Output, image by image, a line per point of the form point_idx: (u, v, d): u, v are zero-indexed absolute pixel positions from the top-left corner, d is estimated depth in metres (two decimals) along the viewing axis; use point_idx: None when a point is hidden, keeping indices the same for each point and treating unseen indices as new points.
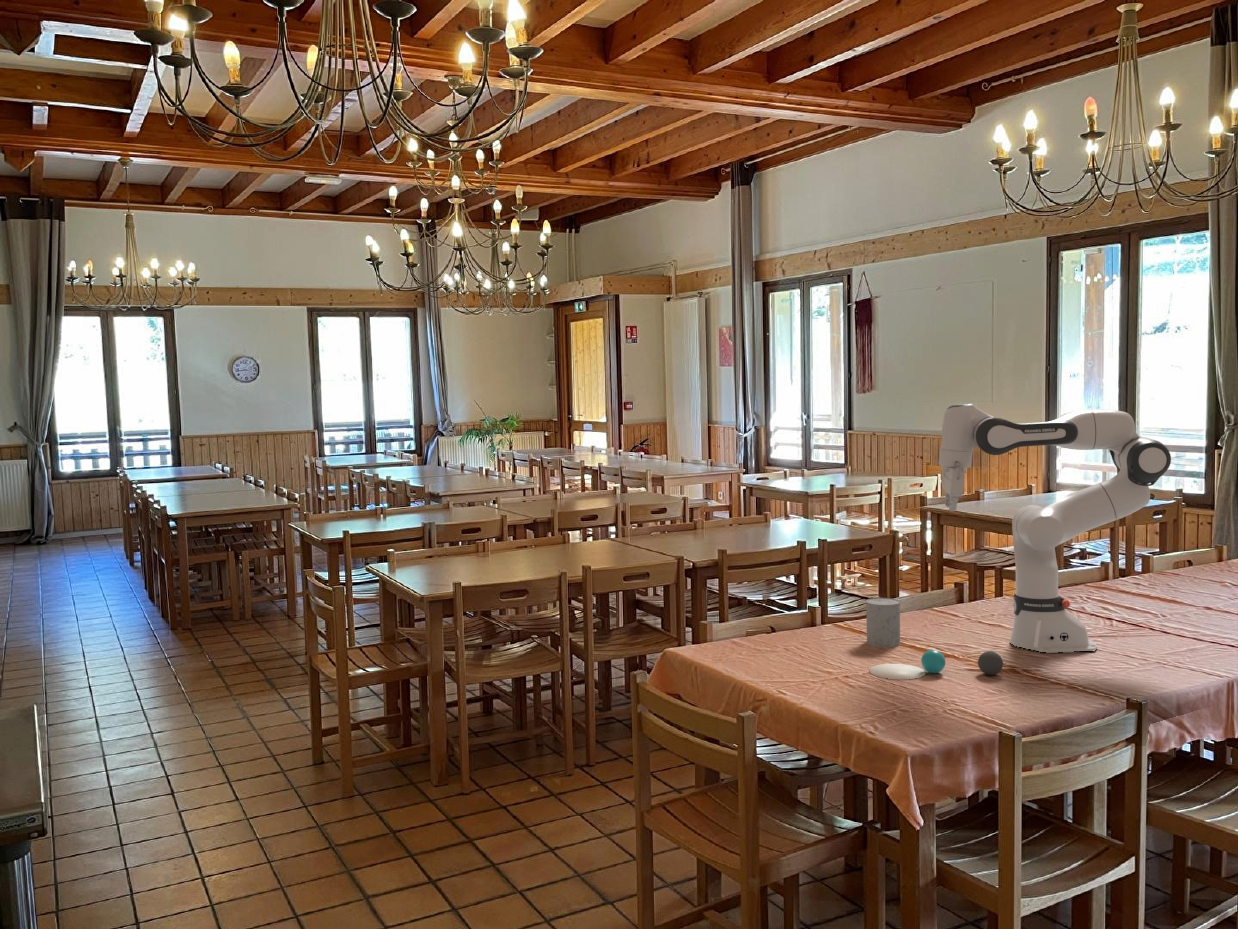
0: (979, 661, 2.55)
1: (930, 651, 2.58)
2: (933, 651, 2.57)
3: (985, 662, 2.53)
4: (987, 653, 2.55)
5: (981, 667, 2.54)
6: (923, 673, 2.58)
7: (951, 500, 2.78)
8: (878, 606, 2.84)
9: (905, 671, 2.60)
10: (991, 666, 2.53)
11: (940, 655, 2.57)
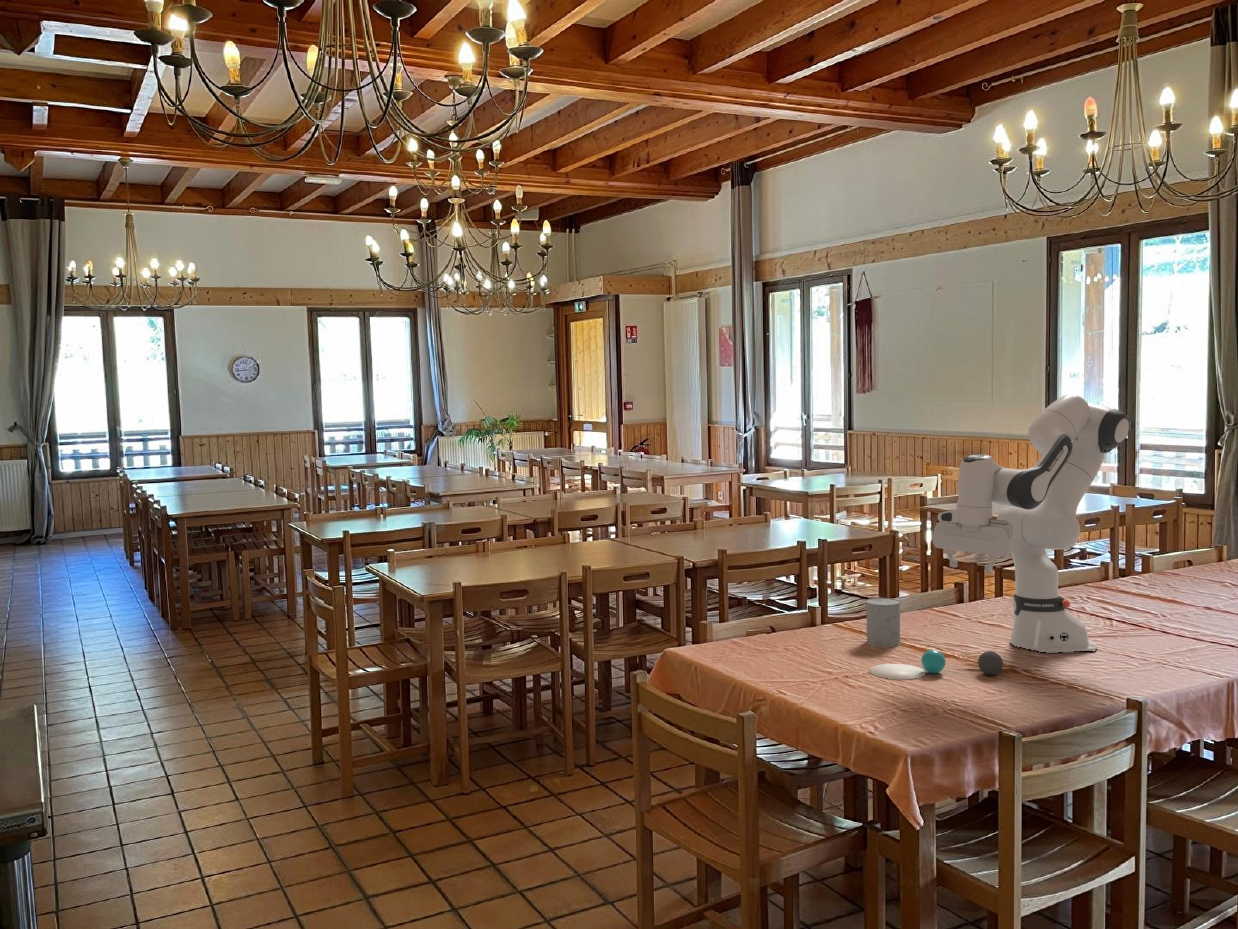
0: (979, 661, 2.55)
1: (930, 651, 2.58)
2: (933, 651, 2.57)
3: (985, 662, 2.53)
4: (987, 653, 2.55)
5: (981, 667, 2.54)
6: (923, 673, 2.58)
7: (993, 561, 2.56)
8: (878, 606, 2.84)
9: (905, 671, 2.60)
10: (991, 666, 2.53)
11: (940, 655, 2.57)
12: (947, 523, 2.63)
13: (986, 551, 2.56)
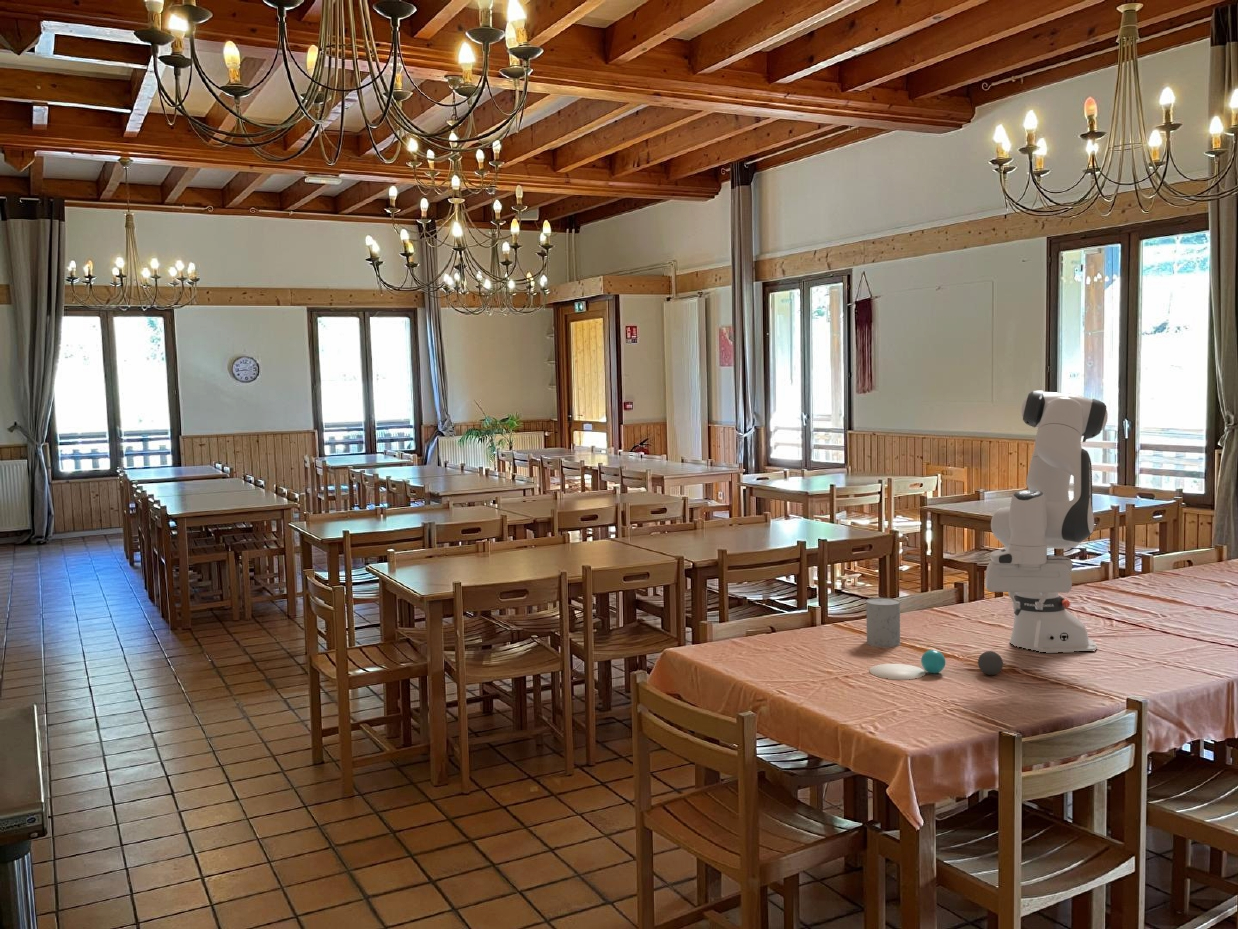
0: (979, 661, 2.55)
1: (930, 651, 2.58)
2: (933, 651, 2.57)
3: (985, 662, 2.53)
4: (987, 653, 2.55)
5: (981, 667, 2.54)
6: (923, 673, 2.58)
7: None
8: (878, 606, 2.84)
9: (905, 671, 2.60)
10: (991, 666, 2.53)
11: (940, 655, 2.57)
12: (1005, 565, 2.50)
13: (1049, 589, 2.49)
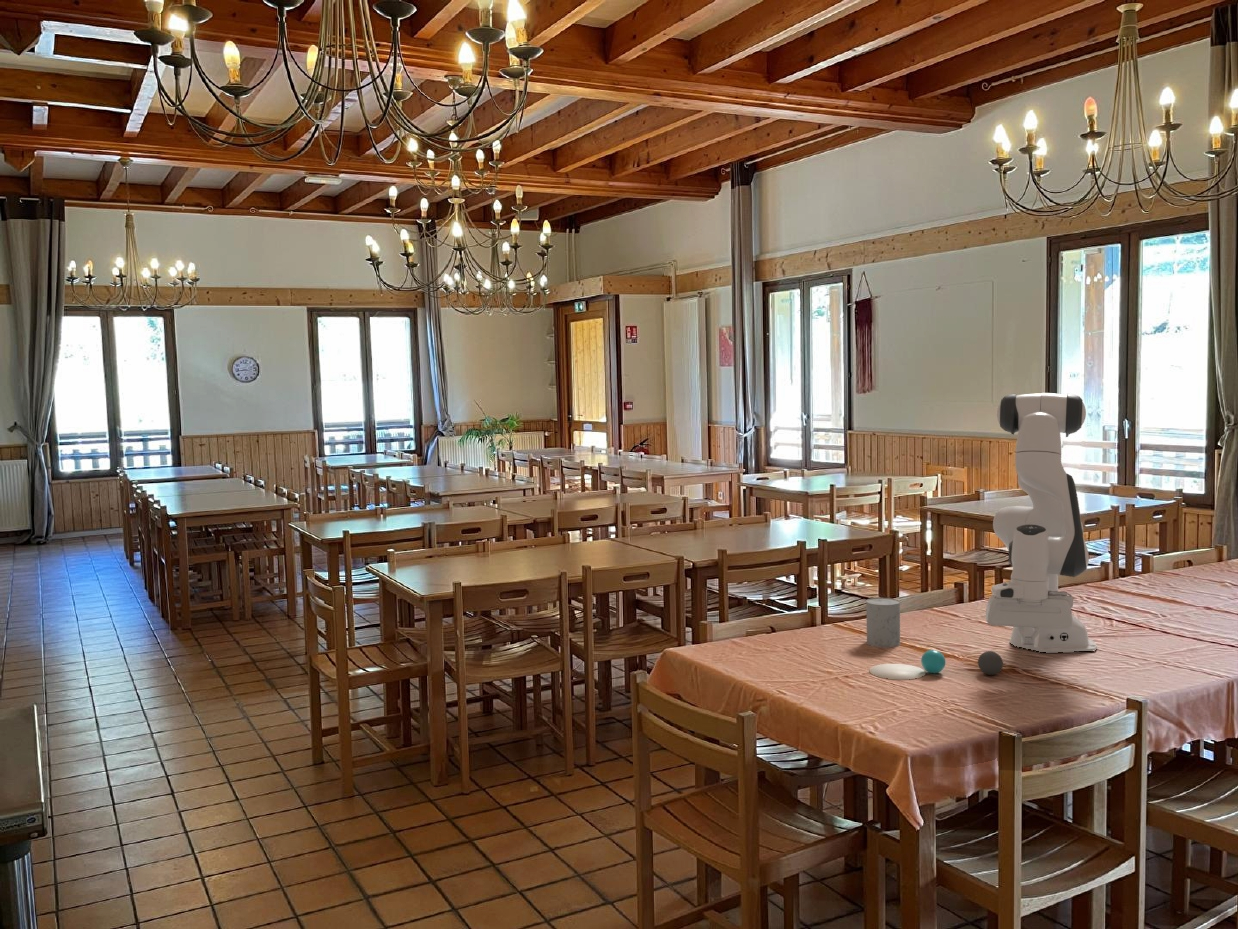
0: (979, 661, 2.55)
1: (930, 651, 2.58)
2: (933, 651, 2.57)
3: (985, 662, 2.53)
4: (987, 653, 2.55)
5: (981, 667, 2.54)
6: (923, 673, 2.58)
7: None
8: (878, 606, 2.84)
9: (905, 671, 2.60)
10: (991, 666, 2.53)
11: (940, 655, 2.57)
12: (1006, 599, 2.50)
13: (1049, 625, 2.49)
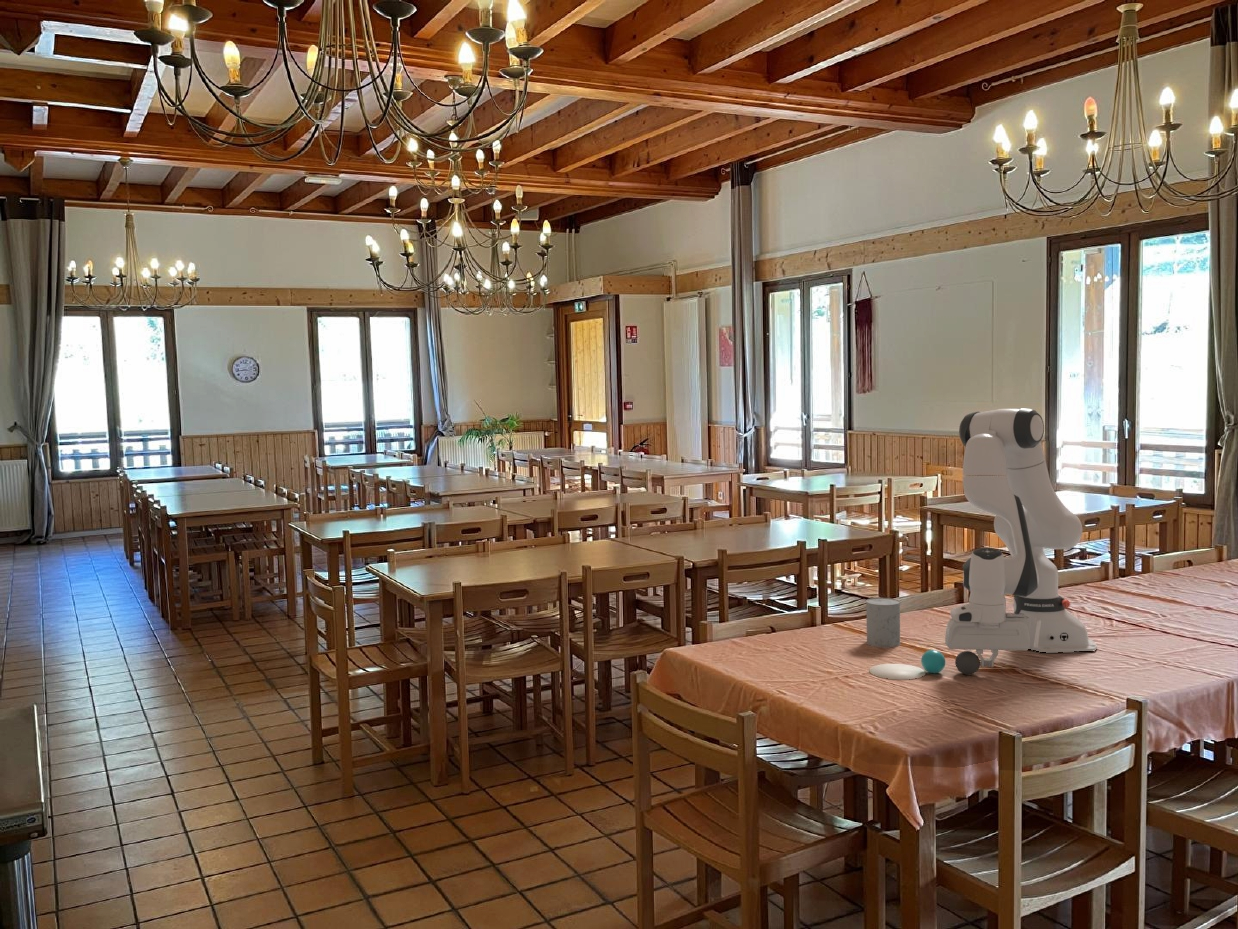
0: (966, 674, 2.56)
1: (930, 651, 2.58)
2: (933, 651, 2.57)
3: (966, 671, 2.54)
4: (957, 667, 2.56)
5: (972, 673, 2.55)
6: (923, 673, 2.58)
7: None
8: (878, 606, 2.84)
9: (905, 671, 2.60)
10: (970, 667, 2.53)
11: (940, 655, 2.57)
12: (965, 623, 2.53)
13: (1007, 647, 2.52)
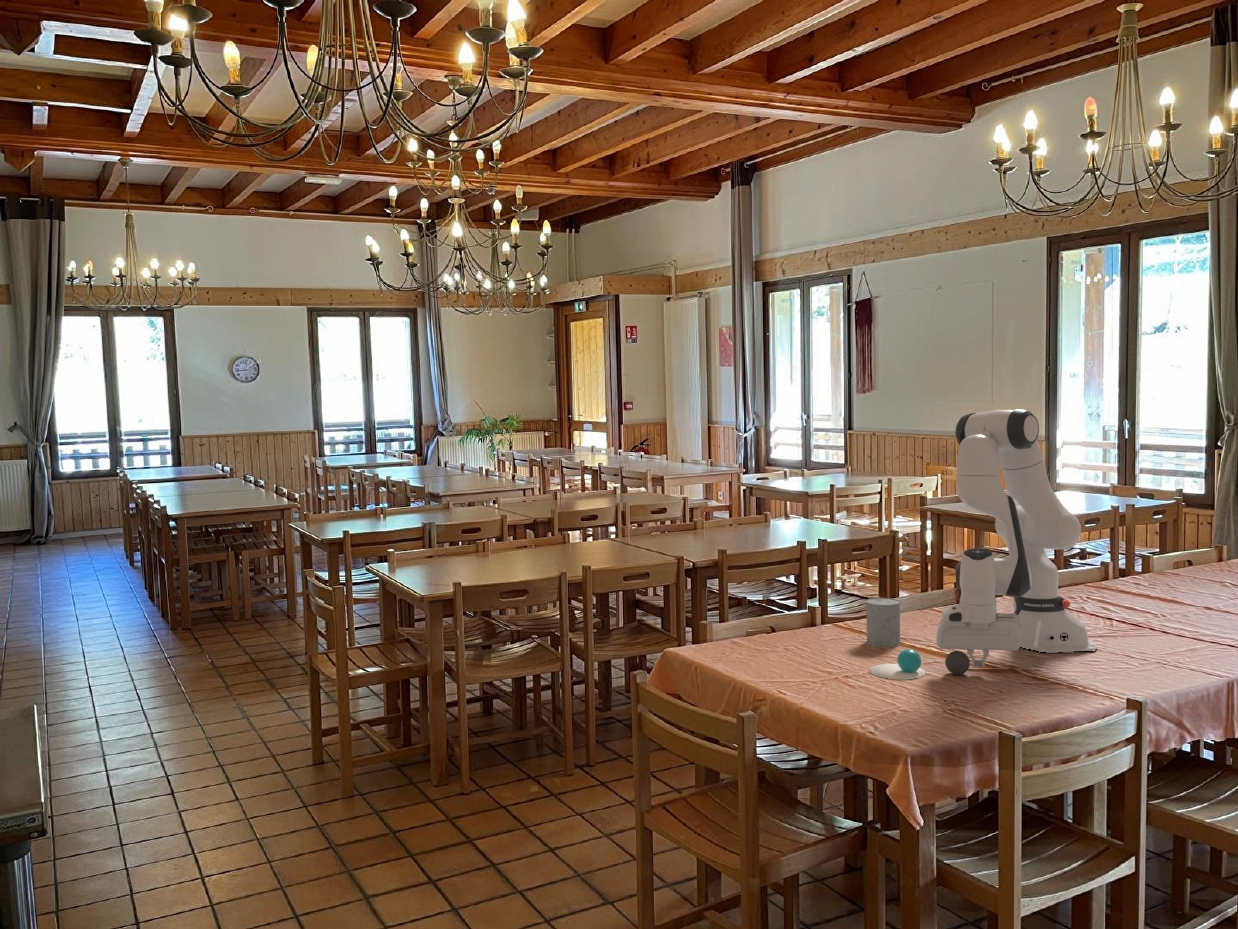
0: None
1: None
2: None
3: (961, 672, 2.54)
4: (953, 673, 2.56)
5: (968, 668, 2.55)
6: (923, 673, 2.58)
7: None
8: (878, 606, 2.84)
9: None
10: (960, 666, 2.54)
11: (899, 659, 2.59)
12: (955, 623, 2.54)
13: (998, 647, 2.53)
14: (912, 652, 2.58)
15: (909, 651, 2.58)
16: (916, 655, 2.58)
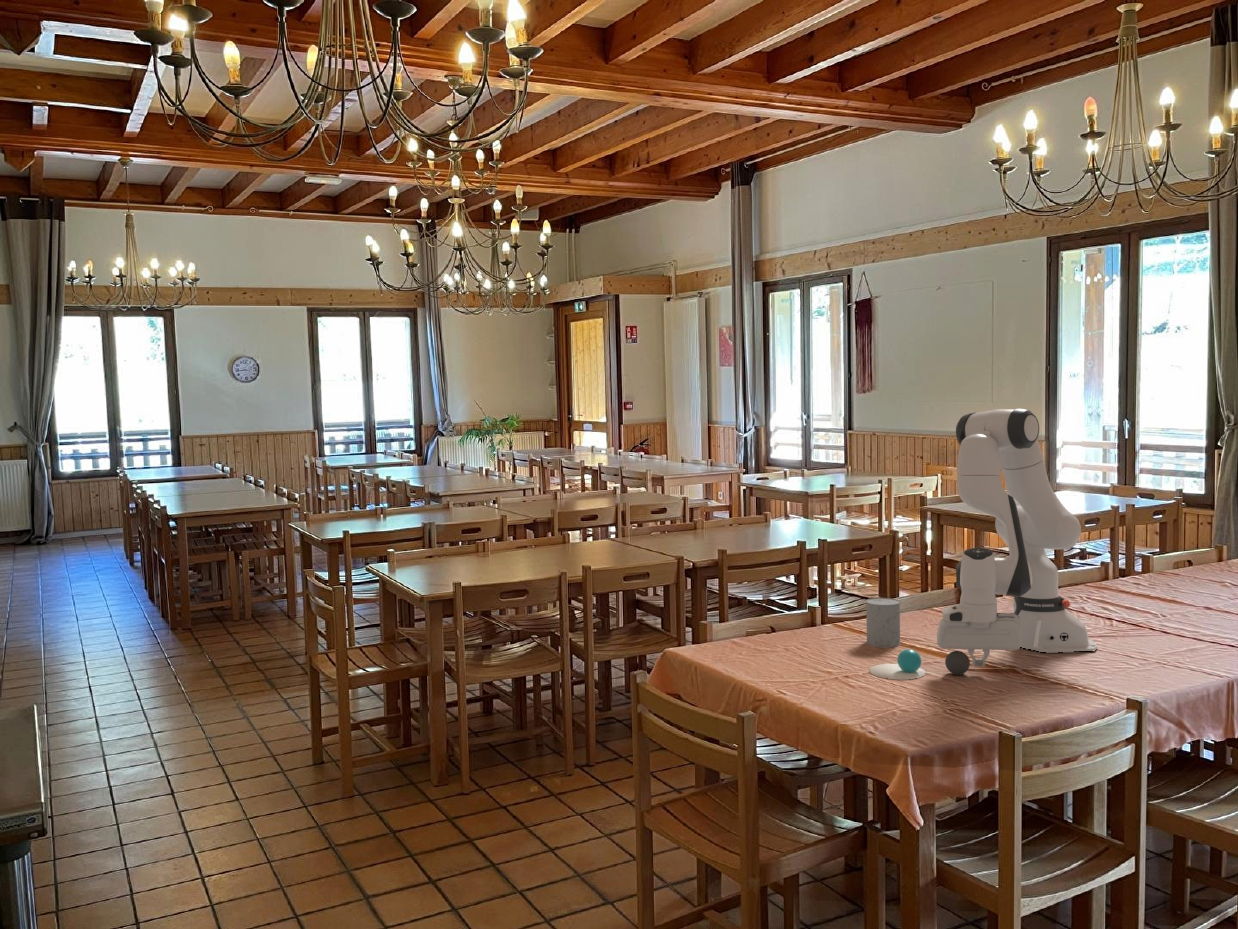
0: None
1: None
2: None
3: (961, 672, 2.54)
4: (953, 673, 2.56)
5: (968, 668, 2.55)
6: (923, 673, 2.58)
7: None
8: (878, 606, 2.84)
9: None
10: (960, 666, 2.54)
11: (899, 659, 2.59)
12: (956, 623, 2.54)
13: (999, 646, 2.53)
14: (912, 652, 2.58)
15: (909, 651, 2.58)
16: (916, 655, 2.58)
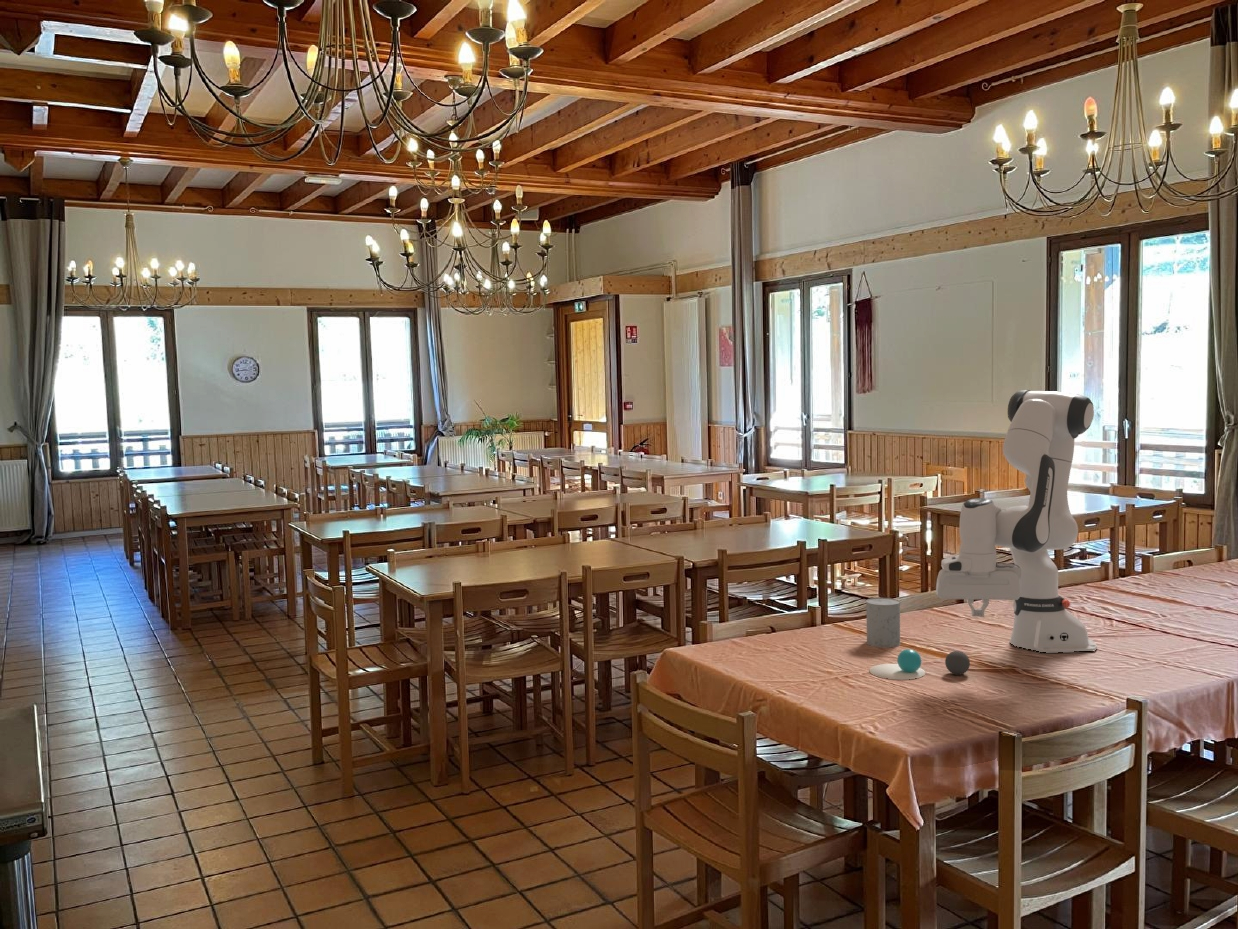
0: None
1: None
2: None
3: (961, 672, 2.54)
4: (953, 673, 2.56)
5: (968, 668, 2.55)
6: (923, 673, 2.58)
7: None
8: (878, 606, 2.84)
9: None
10: (960, 666, 2.54)
11: (899, 659, 2.59)
12: (955, 572, 2.53)
13: (998, 596, 2.52)
14: (912, 652, 2.58)
15: (909, 651, 2.58)
16: (916, 655, 2.58)
